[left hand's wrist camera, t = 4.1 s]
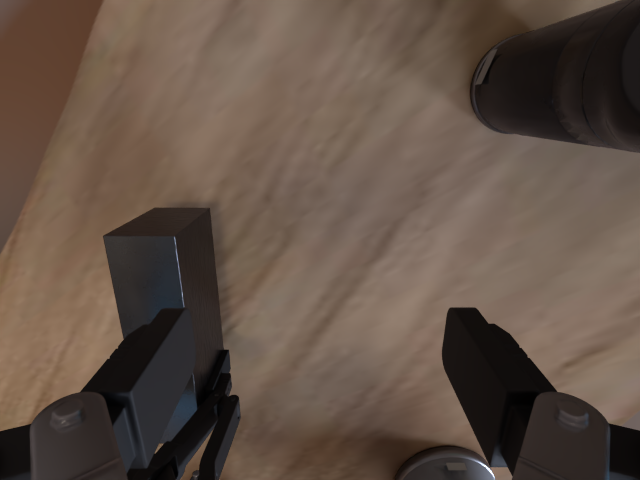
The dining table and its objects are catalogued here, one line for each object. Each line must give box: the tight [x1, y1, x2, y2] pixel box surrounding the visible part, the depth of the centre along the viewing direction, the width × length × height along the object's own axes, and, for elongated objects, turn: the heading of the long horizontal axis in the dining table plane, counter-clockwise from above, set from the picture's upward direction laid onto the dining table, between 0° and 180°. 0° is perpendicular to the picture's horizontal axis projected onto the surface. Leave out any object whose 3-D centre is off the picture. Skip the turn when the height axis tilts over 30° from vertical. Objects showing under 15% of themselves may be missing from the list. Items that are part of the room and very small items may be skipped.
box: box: [103, 208, 224, 443], centre depth 38 cm, size 22×6×10 cm, turn 0°
